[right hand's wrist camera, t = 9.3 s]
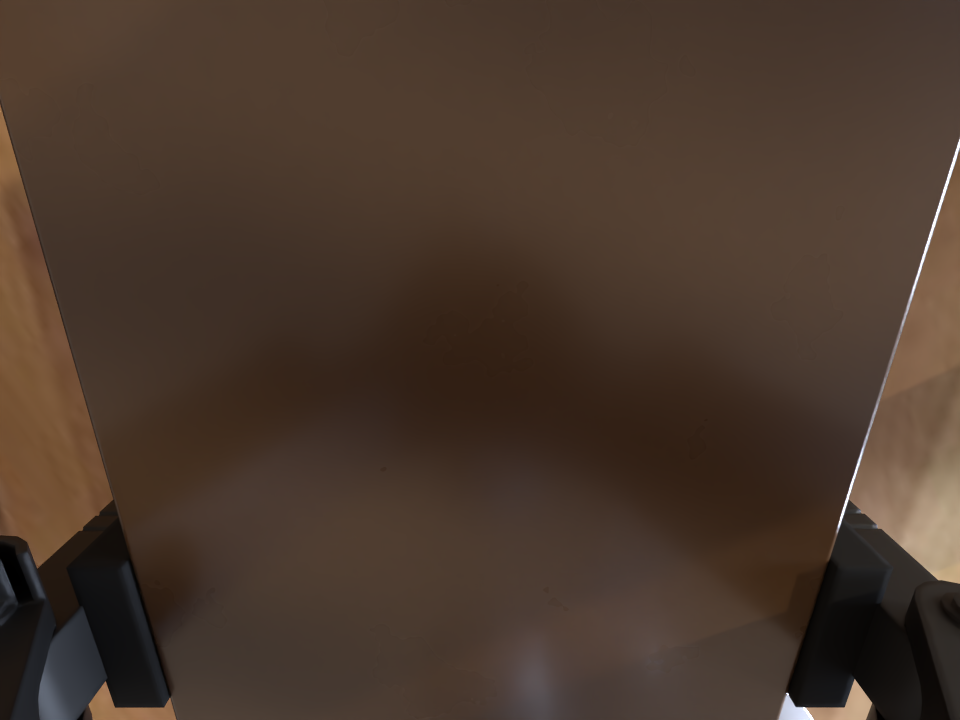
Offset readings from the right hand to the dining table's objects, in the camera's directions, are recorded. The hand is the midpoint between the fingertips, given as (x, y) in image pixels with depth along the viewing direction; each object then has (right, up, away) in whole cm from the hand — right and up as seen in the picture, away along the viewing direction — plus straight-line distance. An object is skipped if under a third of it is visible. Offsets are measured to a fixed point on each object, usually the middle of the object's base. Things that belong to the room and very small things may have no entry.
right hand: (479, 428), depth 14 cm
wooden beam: (0, +26, -9) cm, 28 cm away
